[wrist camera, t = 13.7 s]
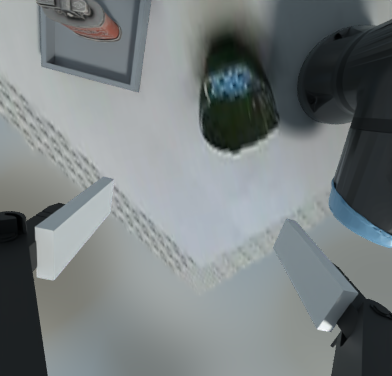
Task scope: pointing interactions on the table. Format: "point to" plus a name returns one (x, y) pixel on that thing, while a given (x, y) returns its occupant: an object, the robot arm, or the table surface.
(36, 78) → the table surface
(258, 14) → the table surface
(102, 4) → the tray
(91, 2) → the lighter
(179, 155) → the table surface
